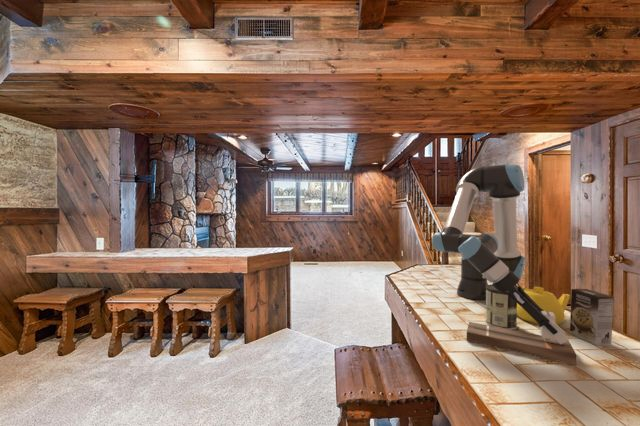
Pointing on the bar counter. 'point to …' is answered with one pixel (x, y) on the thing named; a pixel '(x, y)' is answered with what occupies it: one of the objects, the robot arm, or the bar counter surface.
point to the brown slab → (521, 342)
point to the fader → (543, 331)
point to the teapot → (545, 304)
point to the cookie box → (591, 316)
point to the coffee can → (500, 309)
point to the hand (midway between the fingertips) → (563, 338)
